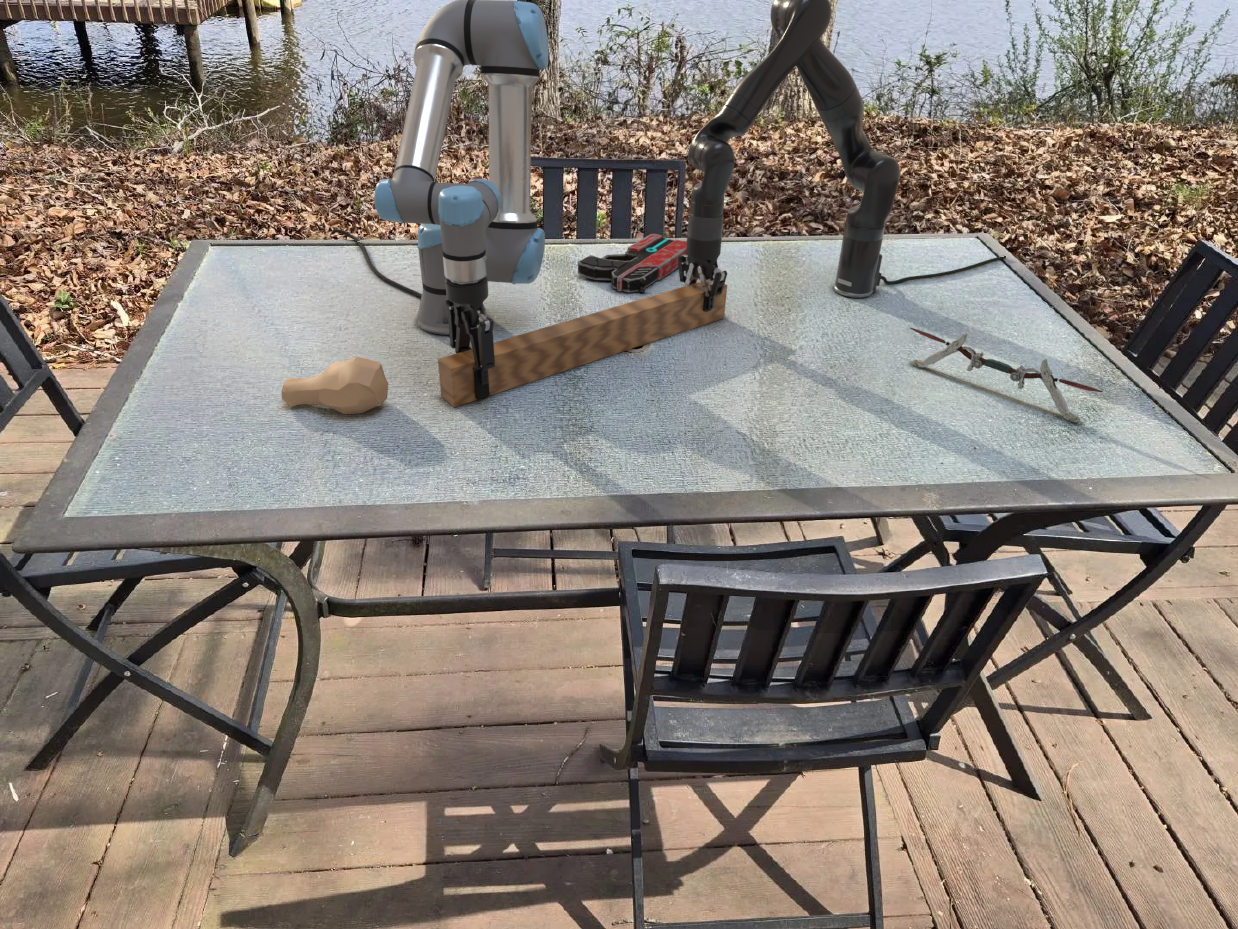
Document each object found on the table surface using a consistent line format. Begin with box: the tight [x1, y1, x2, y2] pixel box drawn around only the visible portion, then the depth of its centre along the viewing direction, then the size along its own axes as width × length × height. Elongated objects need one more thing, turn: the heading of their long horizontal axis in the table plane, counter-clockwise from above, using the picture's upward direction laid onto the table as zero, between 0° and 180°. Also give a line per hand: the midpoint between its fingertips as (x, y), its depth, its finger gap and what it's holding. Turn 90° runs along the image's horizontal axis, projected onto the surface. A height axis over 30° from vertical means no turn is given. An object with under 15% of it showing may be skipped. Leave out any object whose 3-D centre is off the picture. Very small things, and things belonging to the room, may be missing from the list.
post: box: [437, 279, 728, 408], centre depth 183 cm, size 70×5×8 cm, turn 128°
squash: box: [281, 356, 389, 415], centre depth 163 cm, size 11×20×9 cm, turn 90°
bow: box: [909, 326, 1104, 423], centre depth 173 cm, size 39×2×10 cm, turn 47°
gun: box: [577, 233, 687, 294], centre depth 225 cm, size 4×31×19 cm
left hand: (474, 390), depth 170 cm, fingers closed on post, 5 cm apart
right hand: (698, 306), depth 199 cm, fingers closed on post, 5 cm apart
